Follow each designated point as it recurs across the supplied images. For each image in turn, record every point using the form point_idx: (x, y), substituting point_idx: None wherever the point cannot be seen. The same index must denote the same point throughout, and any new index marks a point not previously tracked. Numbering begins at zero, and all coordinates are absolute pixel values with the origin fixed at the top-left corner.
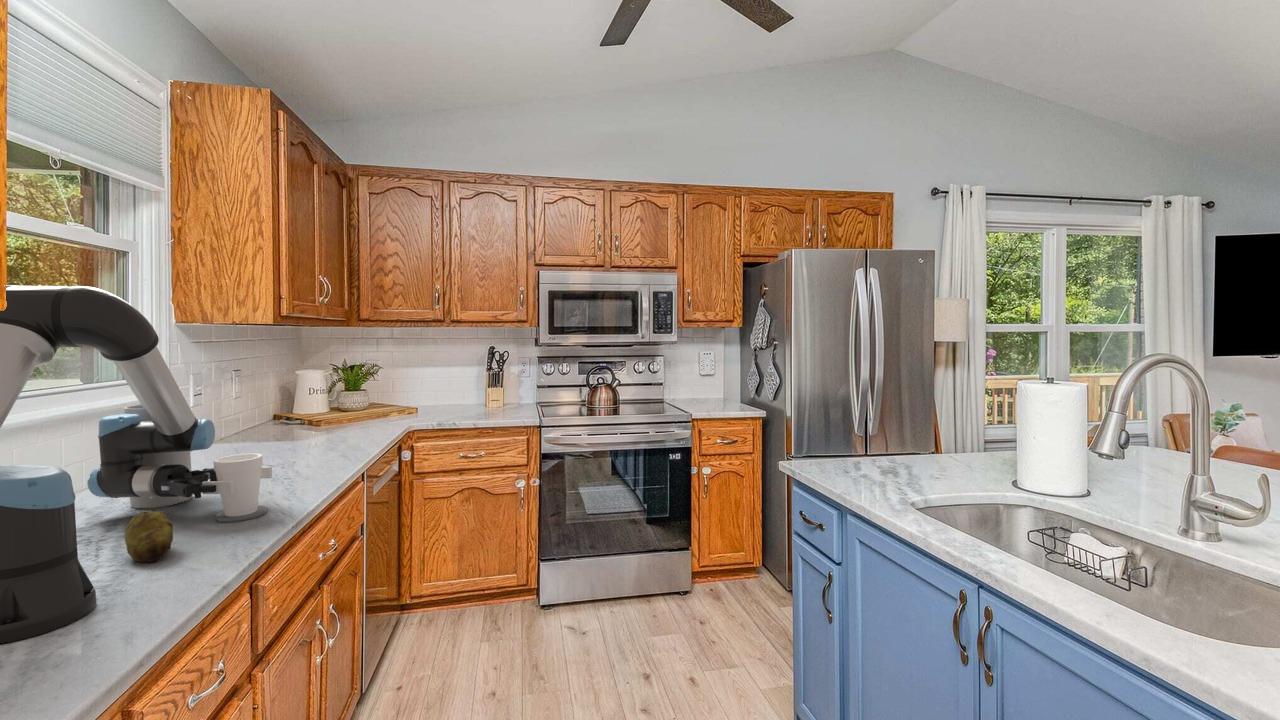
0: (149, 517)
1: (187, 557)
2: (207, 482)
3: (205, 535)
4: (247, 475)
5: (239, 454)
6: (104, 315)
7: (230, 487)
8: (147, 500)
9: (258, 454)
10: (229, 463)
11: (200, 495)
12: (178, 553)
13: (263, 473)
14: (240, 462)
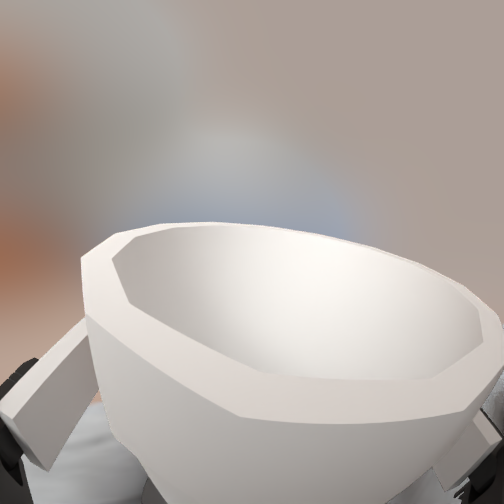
0: None
1: (488, 397)
2: (485, 417)
3: (431, 467)
4: (328, 331)
5: (90, 273)
6: None
7: None
8: None
9: (182, 225)
10: (430, 279)
11: (465, 485)
12: (493, 421)
13: None
14: (384, 260)
